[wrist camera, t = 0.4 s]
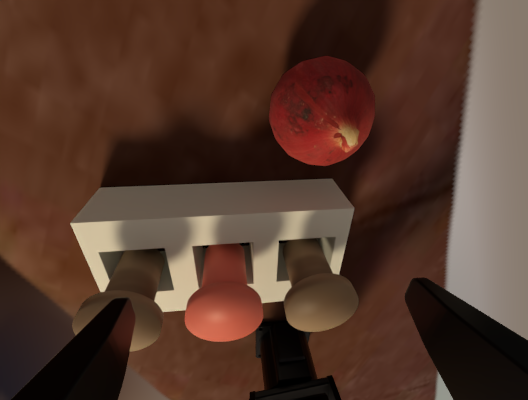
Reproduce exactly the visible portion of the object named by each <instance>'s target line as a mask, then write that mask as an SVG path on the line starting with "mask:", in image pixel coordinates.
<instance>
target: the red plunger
mask: <svg viewBox="0 0 528 400" xmlns="http://www.w3.org/2000/svg"><path fill="white" fill-rule="evenodd" d="M262 319H263V308H262V301H261V298H260V296H259V294H258V293H257V292H256V291H255V290H254V289H253V288H251V287H250V286H248V285H247V276H246V265H245V254H244V249H243V247H242V246H241V245H240V244H239V243H232V244H217V245H209V246H208V248H207V249H206V252H205V259H204V270H203V281H202V288H200V289H198V290H197V291H195V292H194V293H193V294H192V295H191V297H190V298H189V300H188V302H187V306H186V313H185V324H186V327H187V328H188V330H189V331H190V332H191V333H192V334H194V335H195V336H197V337H199V338H201V339H204V340H208V341H216V342H225V341H232V340H237V339H240V338H243V337H245V336H247V335H249V334H250V333H252V332H253V331H255V330H256V329H257V328H258V327H259V325H260V324H261V322H262Z"/></svg>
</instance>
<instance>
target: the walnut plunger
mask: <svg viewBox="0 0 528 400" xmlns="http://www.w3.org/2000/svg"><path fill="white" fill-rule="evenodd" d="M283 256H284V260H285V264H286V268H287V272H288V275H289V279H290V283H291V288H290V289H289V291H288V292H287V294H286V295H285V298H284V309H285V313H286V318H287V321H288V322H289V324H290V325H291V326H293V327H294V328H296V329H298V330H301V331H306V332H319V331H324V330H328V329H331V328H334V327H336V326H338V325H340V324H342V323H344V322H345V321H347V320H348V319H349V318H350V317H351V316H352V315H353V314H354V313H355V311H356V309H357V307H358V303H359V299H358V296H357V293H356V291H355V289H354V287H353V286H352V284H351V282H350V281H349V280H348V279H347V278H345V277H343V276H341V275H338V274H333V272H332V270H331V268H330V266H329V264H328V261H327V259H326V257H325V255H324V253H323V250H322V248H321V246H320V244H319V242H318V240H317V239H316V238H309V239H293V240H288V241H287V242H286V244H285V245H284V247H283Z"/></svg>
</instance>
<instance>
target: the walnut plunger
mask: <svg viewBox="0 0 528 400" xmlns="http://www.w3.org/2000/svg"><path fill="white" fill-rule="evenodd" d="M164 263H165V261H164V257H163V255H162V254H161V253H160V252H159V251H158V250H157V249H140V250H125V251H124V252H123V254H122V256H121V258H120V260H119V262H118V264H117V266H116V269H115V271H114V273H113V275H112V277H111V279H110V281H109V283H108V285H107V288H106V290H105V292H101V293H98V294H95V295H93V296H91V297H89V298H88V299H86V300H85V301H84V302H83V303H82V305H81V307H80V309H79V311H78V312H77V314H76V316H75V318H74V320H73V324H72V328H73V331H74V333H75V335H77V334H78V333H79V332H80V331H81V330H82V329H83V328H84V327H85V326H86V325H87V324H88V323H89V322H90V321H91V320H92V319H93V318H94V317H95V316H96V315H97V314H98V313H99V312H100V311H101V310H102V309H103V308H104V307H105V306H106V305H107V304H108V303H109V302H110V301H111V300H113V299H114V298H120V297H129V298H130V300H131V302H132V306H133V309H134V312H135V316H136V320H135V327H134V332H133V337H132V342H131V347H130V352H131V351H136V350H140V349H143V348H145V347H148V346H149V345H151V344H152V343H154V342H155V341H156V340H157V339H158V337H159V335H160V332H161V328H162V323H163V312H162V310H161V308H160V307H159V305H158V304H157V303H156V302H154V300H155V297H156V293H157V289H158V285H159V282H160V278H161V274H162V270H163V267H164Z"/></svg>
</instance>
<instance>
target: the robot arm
mask: <svg viewBox="0 0 528 400" xmlns="http://www.w3.org/2000/svg"><path fill="white" fill-rule="evenodd" d="M405 301H406V304H407V306H408V309H409V311H410V313H411V316H412V318H413V320H414V323H415V325H416V327H417V330H418V332H419V334H420V337H421V339H422V341H423V343H424V345H425V348H426V349H427V351H428V353H429V355H430V357H431V359H432V361H433V363H434V364H435V366H436V368H437V370H438V372H439V374H440V375H441V377H442V379H443V381H444V383H445V385H446V387H447V388H448V390H449V392H450V394H451V396H452V398H453V400H528V340H526V339H525V338H523V337H521V336H520V335H518V334H516V333H515V332H513V331H511V330H510V329H508V328H507V327H505V326H503V325H502V324H500V323H499V322H497V321H495V320H494V319H492V318H490V317H489V316H487V315H486V314H484V313H482V312H481V311H479V310H478V309H476V308H474V307H472V306H471V305H469V304H468V303H466V302H465V301H463V300H461V299H459V298H458V297H456V296H454V295H453V294H451V293H450V292H448V291H447V290H445V289H443V288H442V287H440V286H439V285H437V284H435V283H434V282H432V281H430V280H429V279H427V278H413V279H412V280H411V282H410V284H409V286H408V289H407V291H406V293H405ZM135 320H136V316H135V312H134V309H133V306H132V302H131V300H130V298H129V297H120V298H114V299H113V300H111V301H110V302H109V303H108V304H107V305H106V306H105V307H104V308H103V309H102V310H101V311H100V312H99V313H98V314H97V315H96V316H95V317H94V318H93V319H92V320H91V321H90V322H89V323H88V324H87V325H86V326H85V327H84V328H83V329H82V330H81V331H80V332H79V333H78V334H77V335H76V336H75V337H74V338H73V339H72V340H71V341H70V342H69V343H68V344H67V345H66V346H65V347H64V348H63V349H62V350H61V351H60V352H59V353H58V354H57V355H56V356H54V357H53V358H52V359H51V360H50V361H49V362H48V364H46V366H44V367H43V368H42V369H41V370H40V371H39V372H38V373H37V374H36V375H35V376H34V377H33V378H32V379H31V380H30V381H29V382H28V383H27V384H26V385H25V386H24V387H23V388H22V389H21V390H20V391H19V392H18V393H17V394H16V395H15V396H14V397H13V398H12V399H11V400H118V397H119V394H120V390H121V387H122V383H123V380H124V376H125V372H126V367H127V362H128V357H129V352H130V347H131V342H132V337H133V332H134V327H135ZM309 335H310V332H306V331H301V330H298V329H296V328H294V327H293V326H291V325H290V324H289V322H288V321H281V322H271V323H261V324H260V325H259V327H258V328H257V329H256V357H257V358H261V362H262V371H263V380H264V389H265V390H263V391H258V392H255V391H253V392H250V399H249V400H341V398H340V395H339V392H338V390H337V387H336V384H335V382H334V379H333V376H332V375H330V376H327V377H326V378H321V379H317V375H316V372H315V368H314V364H313V361H312V357H311V353H310V349H309V346H308V340H309Z"/></svg>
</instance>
